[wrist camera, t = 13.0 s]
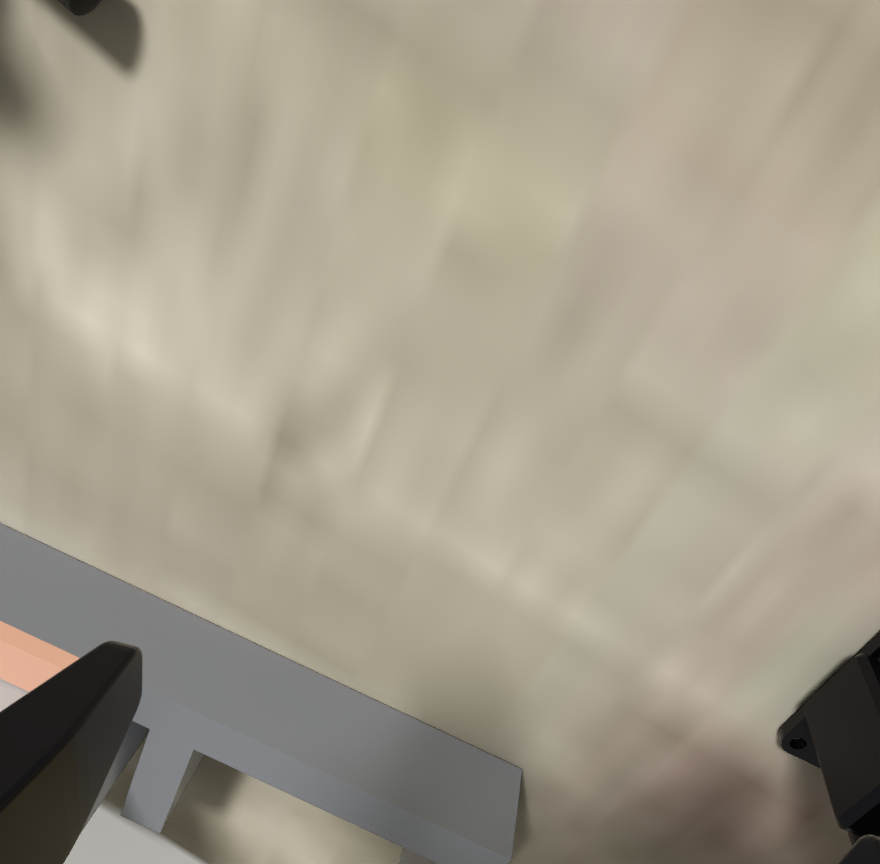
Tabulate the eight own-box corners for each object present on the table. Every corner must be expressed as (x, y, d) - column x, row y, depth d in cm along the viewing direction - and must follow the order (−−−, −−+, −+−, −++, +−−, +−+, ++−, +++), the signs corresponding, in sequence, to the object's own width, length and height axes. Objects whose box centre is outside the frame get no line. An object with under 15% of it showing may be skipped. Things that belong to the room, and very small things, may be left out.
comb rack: (522, 769, 28) (509, 877, 24) (444, 867, 31) (423, 974, 27) (-59, 495, 27) (-160, 565, 23) (-70, 627, 30) (-160, 705, 27)
